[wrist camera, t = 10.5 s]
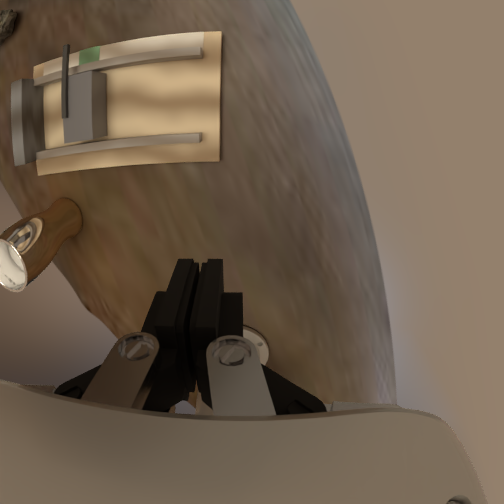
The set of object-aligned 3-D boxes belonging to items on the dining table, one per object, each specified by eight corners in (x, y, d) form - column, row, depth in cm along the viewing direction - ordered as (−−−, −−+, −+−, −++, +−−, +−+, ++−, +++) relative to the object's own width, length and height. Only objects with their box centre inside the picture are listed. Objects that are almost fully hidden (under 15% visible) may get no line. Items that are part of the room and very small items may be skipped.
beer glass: (41, 210, 37) (-21, 255, 23) (68, 185, 35) (1, 225, 22) (65, 247, 39) (12, 302, 26) (93, 225, 38) (38, 279, 25)
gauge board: (220, 159, 35) (216, 168, 30) (43, 173, 34) (17, 185, 28) (222, 33, 28) (218, 18, 22) (39, 66, 27) (12, 64, 21)
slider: (107, 135, 31) (90, 139, 27) (80, 139, 31) (61, 144, 27) (107, 44, 26) (91, 37, 22) (80, 51, 26) (61, 46, 22)
